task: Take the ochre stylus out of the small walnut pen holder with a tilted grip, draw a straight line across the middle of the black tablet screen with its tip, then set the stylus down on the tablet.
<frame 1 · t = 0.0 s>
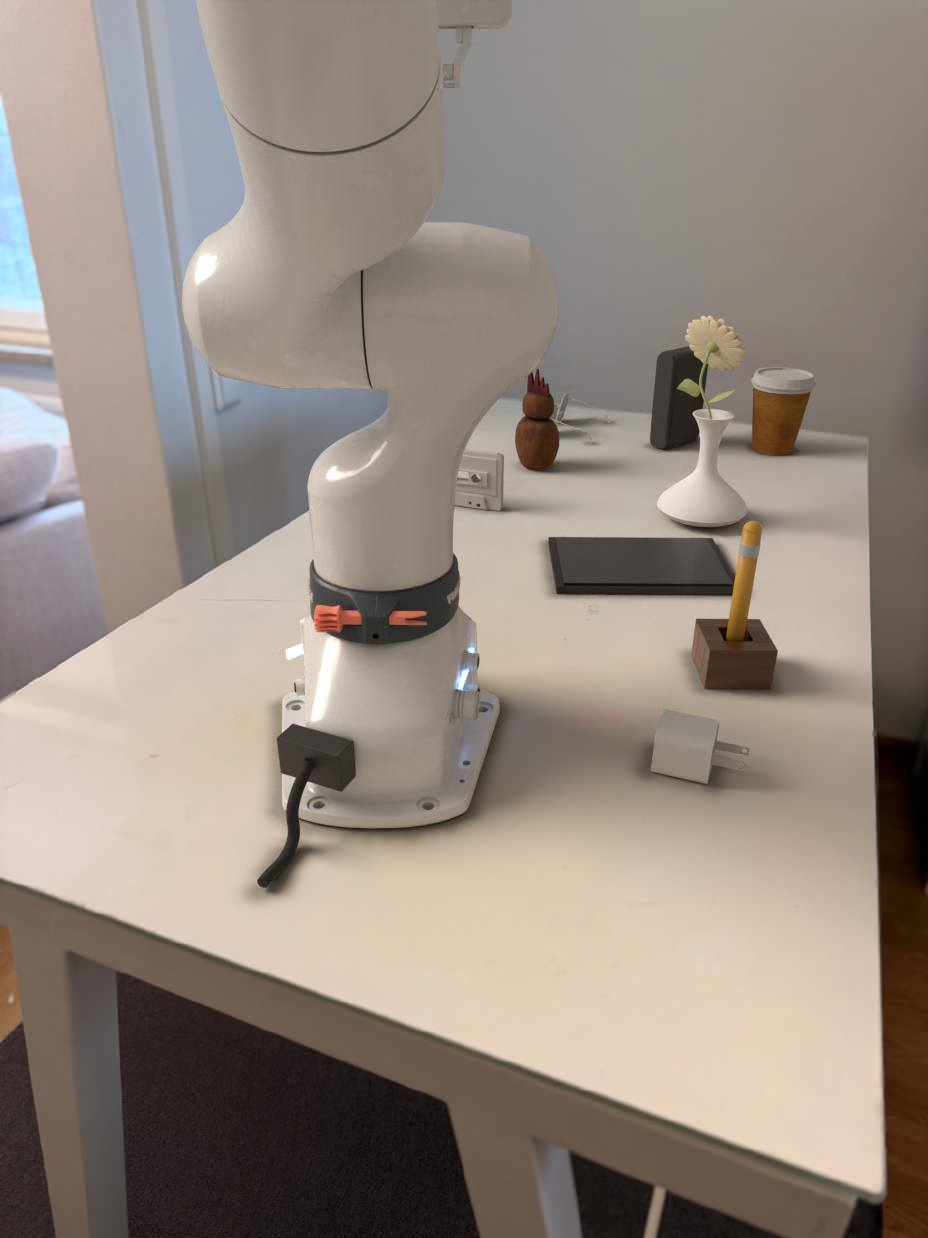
hand: (400, 87, 83), 48 cm above the table, tool pointing down, fingers open, 8 cm apart
wooden figurine: (535, 467, 137), on the table
disposable coffee cup: (771, 450, 144), on the table
flower in vase: (696, 517, 119), on the table
card reader: (673, 444, 147), on the table
stylus: (741, 599, 81), in the pen holder
clear eyeglasses: (577, 431, 153), on the table
usb wall charger: (698, 772, 71), on the table
cassette: (460, 505, 123), on the table
pen holder: (729, 671, 84), on the table
tablet: (638, 567, 105), on the table
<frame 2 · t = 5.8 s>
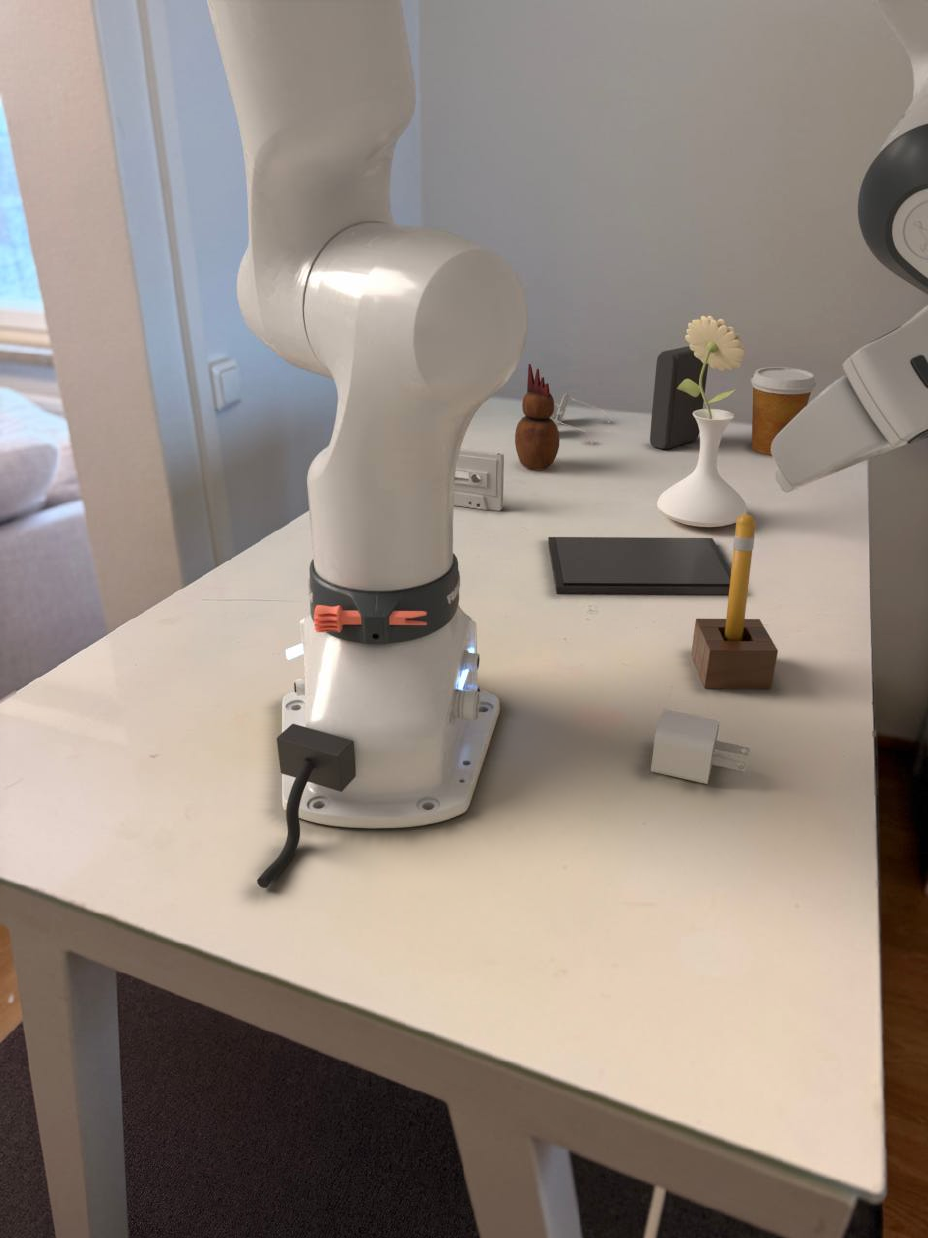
hand: (828, 464, 70), 21 cm above the table, tool tilted 45°, fingers open, 8 cm apart
stylus: (737, 595, 82), in the pen holder, tilted 7°
everything else where it was.
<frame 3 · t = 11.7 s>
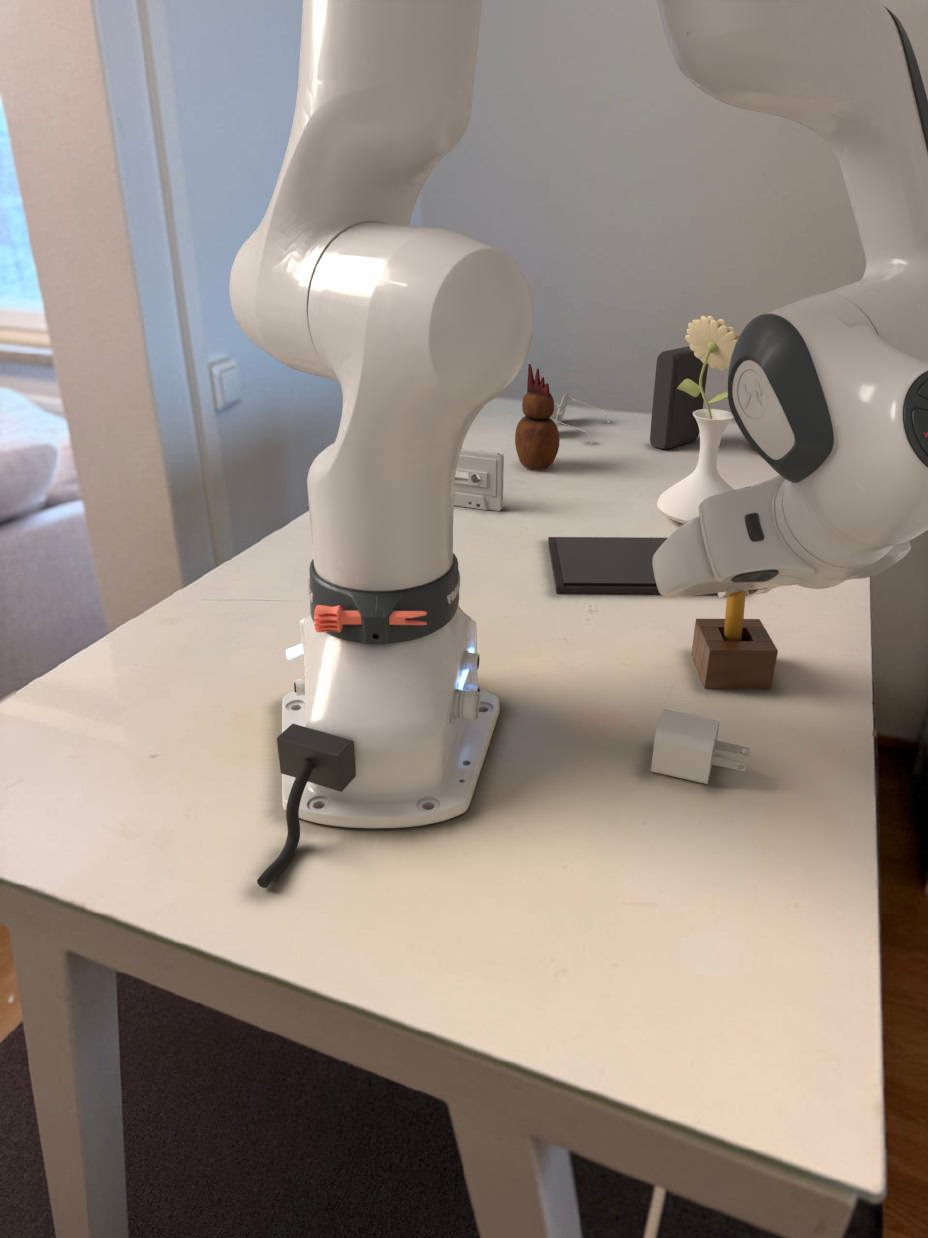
hand: (739, 587, 81), 8 cm above the table, tool tilted 45°, fingers closed on stylus, 1 cm apart
stylus: (736, 595, 82), in the pen holder, tilted 7°, touching gripper
everything else where it was.
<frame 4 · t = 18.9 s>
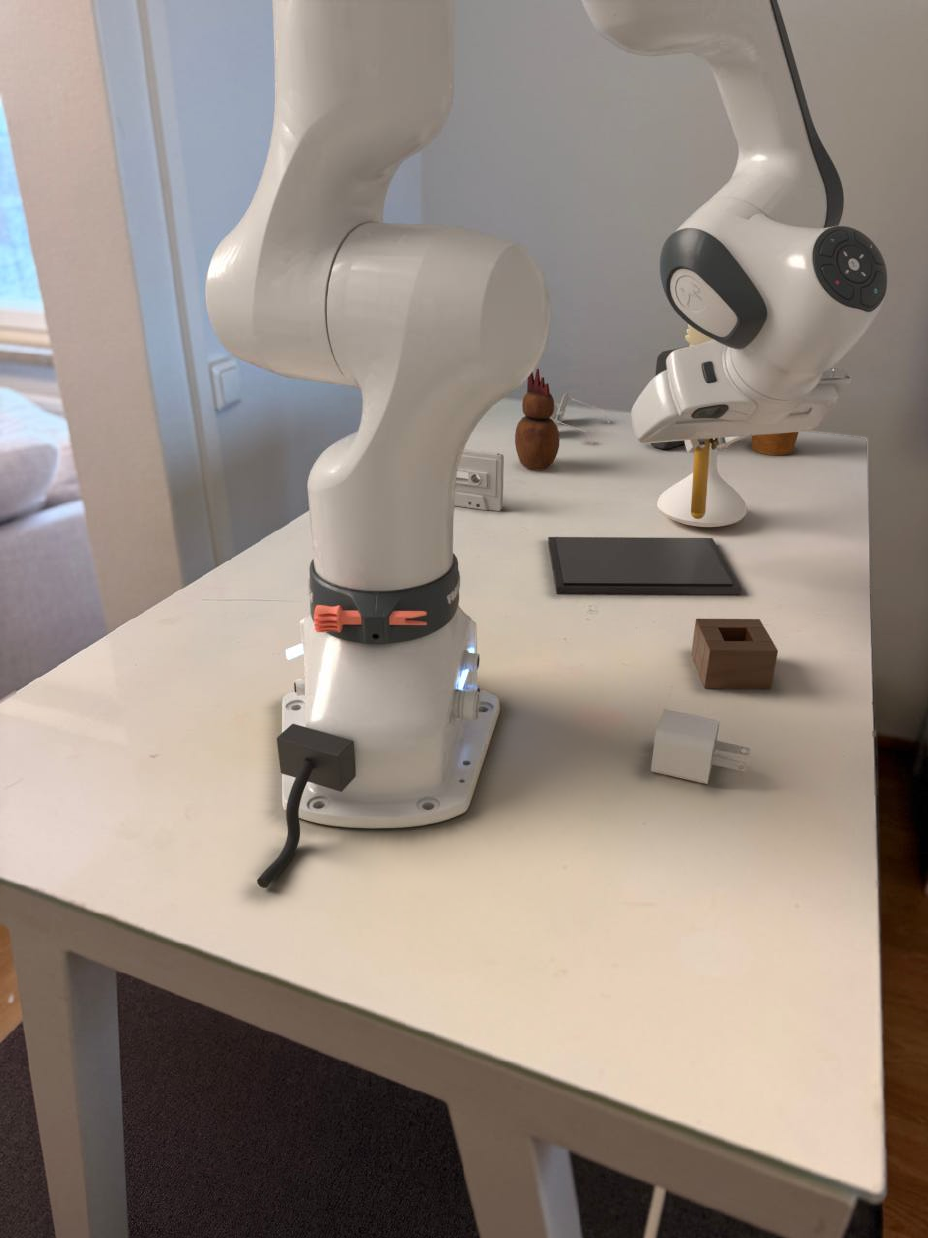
hand: (703, 444, 98), 14 cm above the table, tool tilted 45°, fingers closed on stylus
stylus: (701, 452, 99), point 13 cm above the table, tilted 7°, touching gripper
everything else where it was.
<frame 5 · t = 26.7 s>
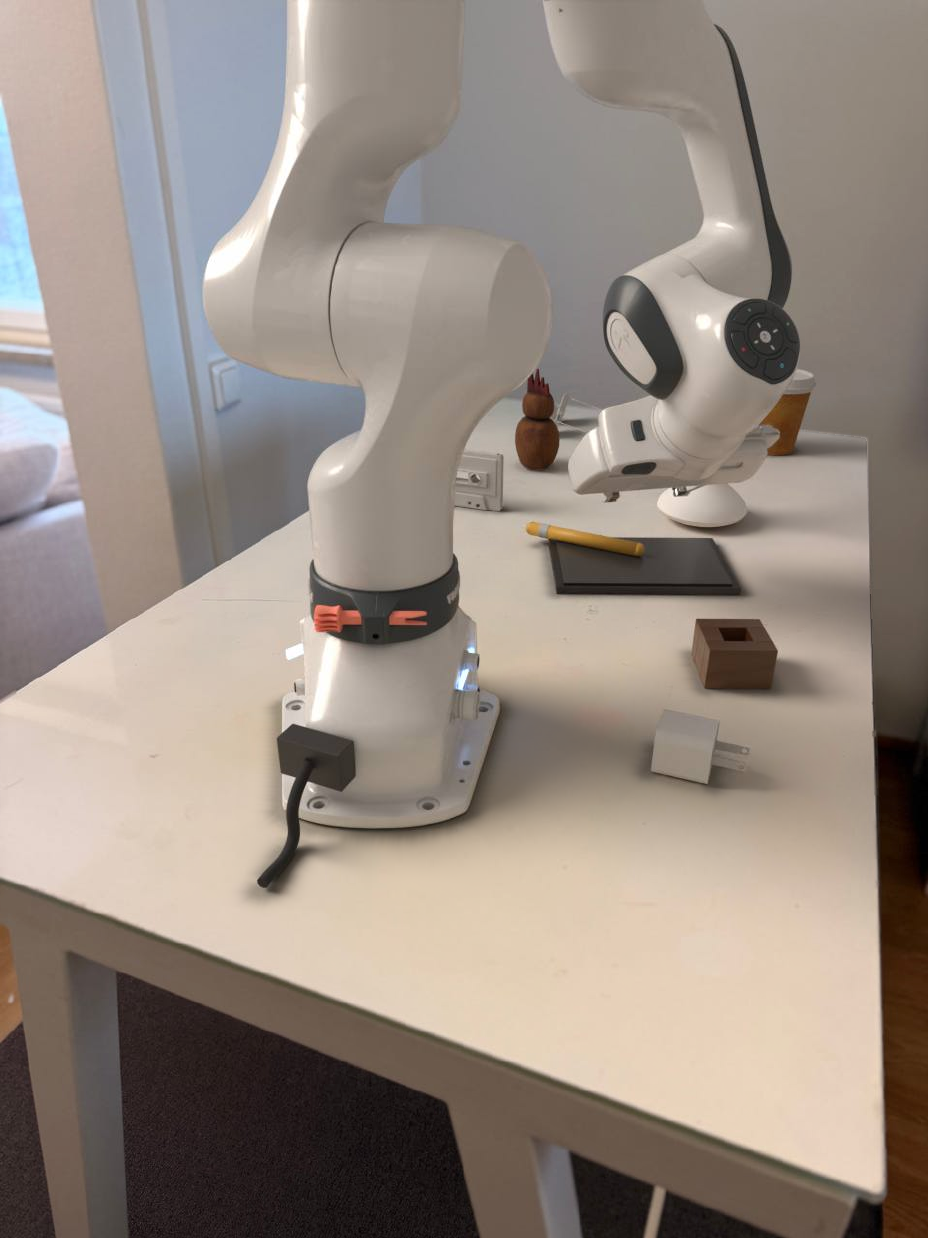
hand: (643, 493, 101), 9 cm above the table, tool tilted 45°, fingers open, 7 cm apart
stylus: (583, 538, 107), point 1 cm above the table, tilted 90°, touching tablet
everything else where it was.
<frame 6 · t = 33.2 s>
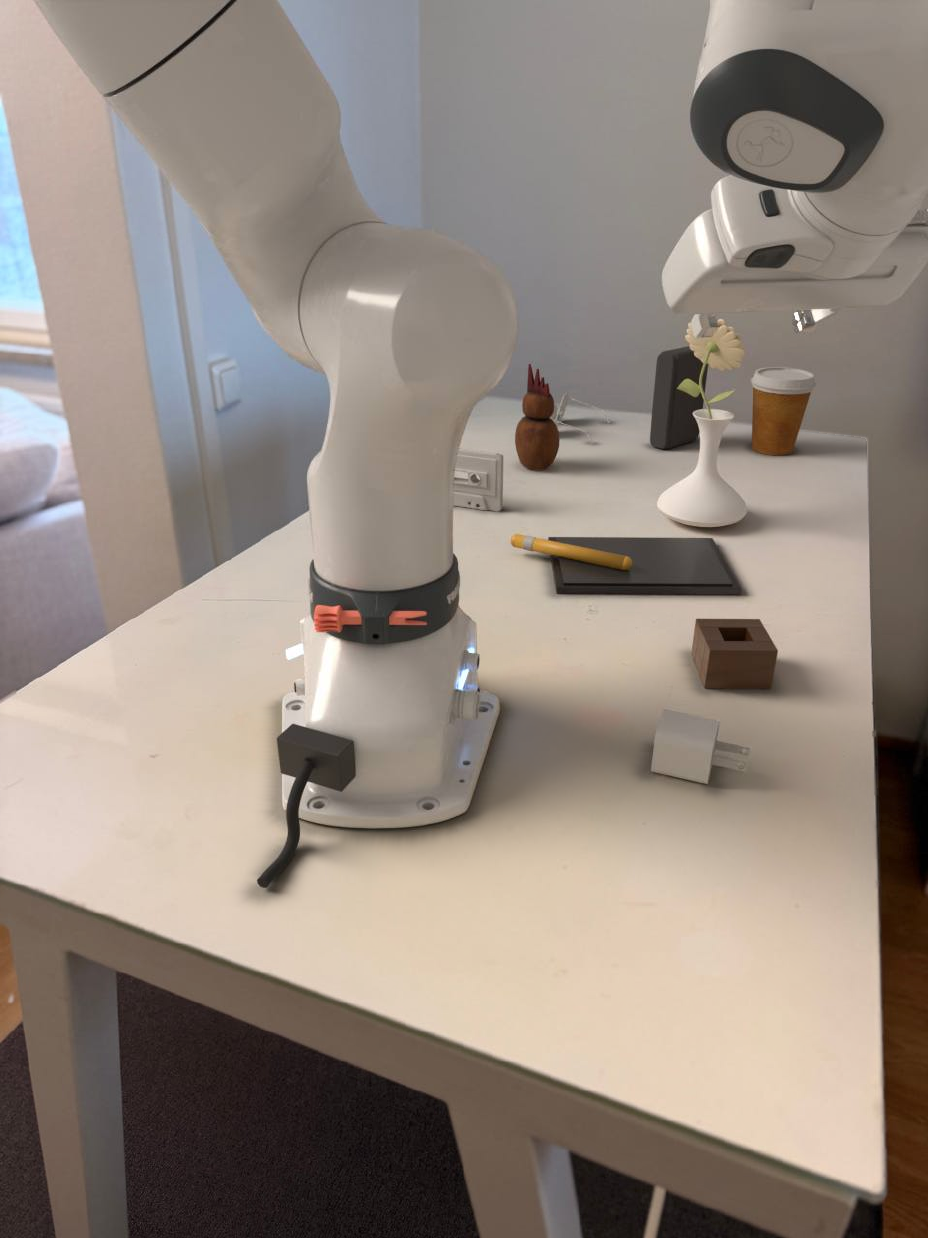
hand: (750, 328, 78), 29 cm above the table, tool tilted 45°, fingers open, 8 cm apart
stylus: (569, 551, 104), on the tablet, point 1 cm above the table, tilted 90°
everything else where it was.
at the end: stylus inside the target area on the tablet (3.6 cm from its centre), point 1.8 cm above the tablet's base; stylus touching tablet; the gripper is holding nothing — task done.
